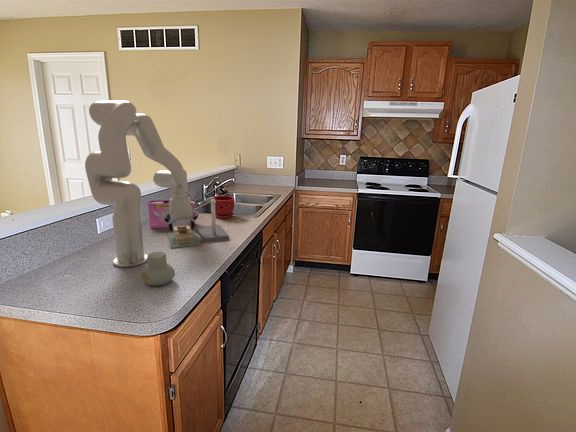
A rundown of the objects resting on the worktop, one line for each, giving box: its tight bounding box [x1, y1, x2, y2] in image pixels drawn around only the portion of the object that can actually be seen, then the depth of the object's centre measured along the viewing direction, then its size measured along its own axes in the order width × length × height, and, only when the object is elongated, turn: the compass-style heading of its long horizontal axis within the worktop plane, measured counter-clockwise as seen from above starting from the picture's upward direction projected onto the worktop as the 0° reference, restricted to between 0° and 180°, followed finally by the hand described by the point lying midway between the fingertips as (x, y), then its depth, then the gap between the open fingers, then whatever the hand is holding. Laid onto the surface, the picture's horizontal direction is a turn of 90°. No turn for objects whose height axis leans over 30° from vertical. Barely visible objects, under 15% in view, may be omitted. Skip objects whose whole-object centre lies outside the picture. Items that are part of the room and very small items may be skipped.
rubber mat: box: [166, 229, 202, 249], centre depth 150 cm, size 22×13×1 cm, turn 25°
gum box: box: [147, 199, 197, 229], centre depth 170 cm, size 24×8×14 cm, turn 100°
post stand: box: [196, 198, 230, 243], centre depth 155 cm, size 20×12×20 cm, turn 25°
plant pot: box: [212, 195, 236, 219], centre depth 191 cm, size 13×13×12 cm
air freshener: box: [140, 251, 176, 287], centre depth 106 cm, size 11×8×10 cm
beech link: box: [172, 225, 194, 244], centre depth 149 cm, size 15×7×4 cm, turn 25°
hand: (182, 230), depth 153 cm, fingers open, 9 cm apart
